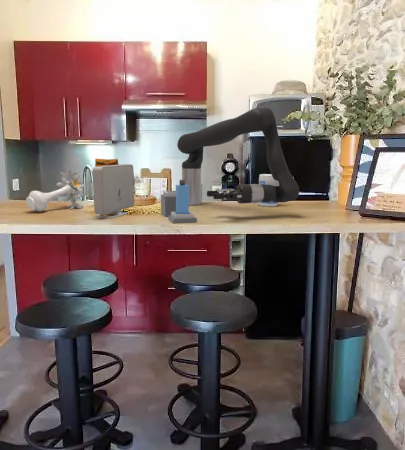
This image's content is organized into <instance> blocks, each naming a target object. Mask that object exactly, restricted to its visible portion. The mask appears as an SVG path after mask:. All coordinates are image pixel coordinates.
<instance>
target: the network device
mask: <svg viewBox="0 0 405 450" xmlns="http://www.w3.org/2000/svg"><path fill="white" fill-rule="evenodd" d="M134 176H135V175H134V165H133V164H128V163H127V164H119V165H110V166H98V167H95V166H94V167H93V168H92V183H93V184H92V187H93V188H92V189H93V208H94V213H95V214H96V215H95V217H96V218H100V219H116V218H120V217H122V216H126V215H128V214H127V213H128V212H125V211H124V212H123V211H121V210H122V209H123V210H127V209H129V208H133V207H134V205H135V186H134V185H135V181H134V179H135V177H134ZM106 214H113V215H106Z"/></svg>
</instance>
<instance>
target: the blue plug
mask: <svg viewBox="0 0 405 450" xmlns="http://www.w3.org/2000/svg"><path fill="white" fill-rule="evenodd" d="M175 191H176V214H189V211H190V205H189V186H188V185H185V180H182V179H179V184H175Z"/></svg>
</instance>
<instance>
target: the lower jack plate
mask: <svg viewBox="0 0 405 450" xmlns="http://www.w3.org/2000/svg"><path fill="white" fill-rule="evenodd" d="M167 219H168V221H170V222H171V223H172V224H185V223H187V224H188V223H189V222H191V223H197V222H198V218H197V217H196V216H195V213H193V212H191V211H190V210H189V214H176V212H171V215H168V217H167Z"/></svg>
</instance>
